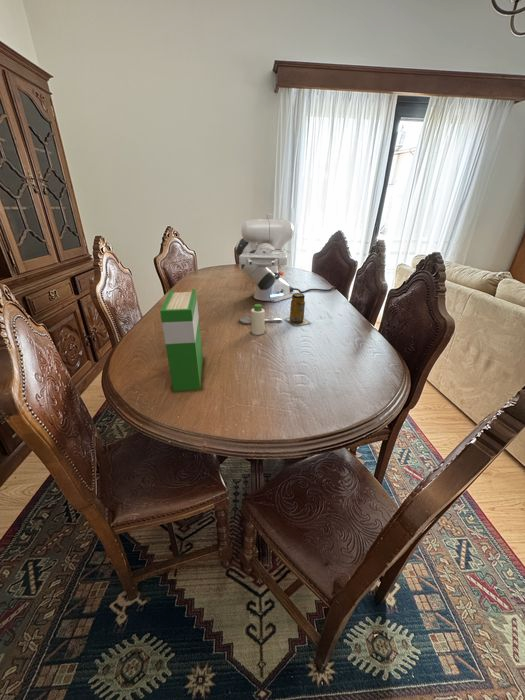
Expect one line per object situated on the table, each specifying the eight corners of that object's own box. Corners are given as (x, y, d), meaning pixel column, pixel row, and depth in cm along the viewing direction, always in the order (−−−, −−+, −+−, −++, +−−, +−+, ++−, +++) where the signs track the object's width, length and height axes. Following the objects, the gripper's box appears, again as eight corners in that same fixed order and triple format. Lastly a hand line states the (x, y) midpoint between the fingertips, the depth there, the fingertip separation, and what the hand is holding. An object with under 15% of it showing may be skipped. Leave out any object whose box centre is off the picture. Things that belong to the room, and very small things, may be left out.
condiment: (299, 317, 131) (301, 291, 126) (309, 323, 125) (312, 296, 119) (285, 319, 128) (286, 293, 123) (295, 326, 122) (297, 299, 116)
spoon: (281, 319, 129) (281, 316, 128) (282, 324, 123) (282, 321, 122) (240, 318, 128) (240, 315, 128) (239, 324, 123) (239, 321, 122)
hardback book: (180, 359, 96) (170, 289, 84) (202, 358, 97) (195, 289, 85) (173, 391, 80) (159, 310, 69) (200, 389, 81) (191, 309, 70)
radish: (260, 328, 119) (260, 302, 114) (266, 333, 115) (267, 306, 110) (249, 331, 117) (248, 304, 111) (255, 336, 113) (255, 308, 107)
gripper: (241, 248, 126) (235, 254, 114) (287, 249, 125) (287, 255, 113) (241, 263, 129) (236, 270, 117) (286, 264, 128) (286, 271, 116)
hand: (261, 263), depth 115 cm, fingers open, 8 cm apart
